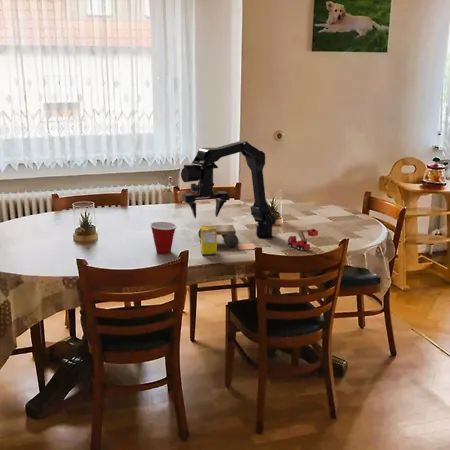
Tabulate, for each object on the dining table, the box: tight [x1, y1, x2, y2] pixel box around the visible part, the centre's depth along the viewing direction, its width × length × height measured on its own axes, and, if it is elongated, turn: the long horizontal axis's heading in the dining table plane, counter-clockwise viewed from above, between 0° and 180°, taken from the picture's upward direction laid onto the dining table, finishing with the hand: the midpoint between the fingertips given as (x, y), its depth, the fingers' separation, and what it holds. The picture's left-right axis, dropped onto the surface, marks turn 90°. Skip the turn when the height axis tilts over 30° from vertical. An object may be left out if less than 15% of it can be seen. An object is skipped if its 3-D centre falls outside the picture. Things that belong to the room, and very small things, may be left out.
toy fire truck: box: [287, 228, 319, 252], centre depth 227 cm, size 3×14×10 cm, turn 45°
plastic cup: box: [149, 221, 178, 255], centre depth 221 cm, size 11×11×12 cm
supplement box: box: [200, 225, 218, 257], centre depth 220 cm, size 6×6×11 cm
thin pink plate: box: [236, 243, 256, 251], centre depth 230 cm, size 7×7×1 cm
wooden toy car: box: [197, 224, 239, 249], centre depth 233 cm, size 16×13×7 cm
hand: (205, 217), depth 223 cm, fingers open, 9 cm apart
